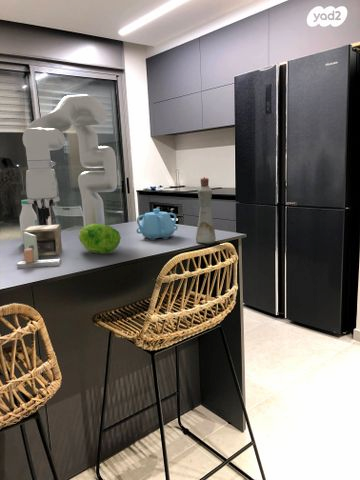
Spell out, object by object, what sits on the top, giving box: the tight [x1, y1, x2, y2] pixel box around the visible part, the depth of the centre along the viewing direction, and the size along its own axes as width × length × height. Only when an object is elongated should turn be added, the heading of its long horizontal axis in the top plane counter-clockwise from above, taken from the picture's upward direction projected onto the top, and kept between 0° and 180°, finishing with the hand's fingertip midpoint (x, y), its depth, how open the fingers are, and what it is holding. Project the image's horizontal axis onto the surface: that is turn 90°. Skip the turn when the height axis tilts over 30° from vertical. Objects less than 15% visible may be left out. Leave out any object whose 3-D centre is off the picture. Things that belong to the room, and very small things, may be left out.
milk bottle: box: [19, 199, 39, 245], centre depth 177 cm, size 8×8×20 cm
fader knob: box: [23, 248, 34, 263], centre depth 138 cm, size 2×3×5 cm
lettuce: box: [78, 224, 122, 255], centre depth 154 cm, size 13×23×12 cm, turn 44°
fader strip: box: [16, 258, 61, 269], centre depth 139 cm, size 14×4×2 cm, turn 99°
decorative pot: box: [136, 208, 179, 241], centre depth 182 cm, size 16×16×14 cm
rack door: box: [23, 231, 40, 260], centre depth 147 cm, size 12×2×10 cm, turn 39°
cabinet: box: [24, 224, 63, 257], centre depth 158 cm, size 12×10×10 cm
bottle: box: [195, 176, 217, 245], centre depth 166 cm, size 9×9×28 cm
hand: (45, 218), depth 137 cm, fingers closed
